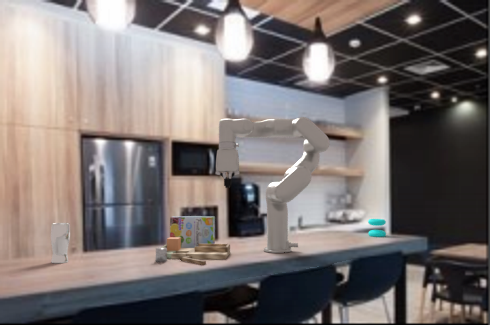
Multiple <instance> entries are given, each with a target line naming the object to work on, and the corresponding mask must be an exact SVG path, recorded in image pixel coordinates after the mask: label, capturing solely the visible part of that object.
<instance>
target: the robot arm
mask: <svg viewBox="0 0 490 325" xmlns="http://www.w3.org/2000/svg"><path fill="white" fill-rule="evenodd" d="M236 137H237V138H241V139H242V138H243V139H244V138H247V139H248V138H249V139H250V138H251V139H255V138H258V139H259V138H300V137H303V139H304V141H303V146H302V147H303V155H302V156H301V158H300V159H298V160H297V162H296V163H294V164H293V165H292V166H291V167H290V168H288V169H287V170H286V171H285V172H284V175H283V179H282V180H281V181H273V182H270V183H269V184H268V185H267V186H266V189H265V200H266V247H263V252H266V253H273V254H280V253H282V254H284V252H285V253H290V252H292V248H299V243H298V242H290V241H289V233H288V232H289V231H288V230H289V229H288V228H289V223H288V222H289V221H288V219H289V217H288V216H289V215H288V213H289V212H288V203H289V202H291V201H292V200H294V199H295V198H296V197H297V196H298V195H300V194H301V192H303V191H304V190H305V189H306V188H307V187H308V186H309V185H310V183H311V181H312V174H313V172H314V171H315V170H316V169H317V168H318V166H319V164H320V159H321V158H320V156H321V155H320V153H323V152H326V151H327V150H328V149H329V148H330V145H331V144H330V142H331V141H330V139H329V137H328V136H327V134H326V133H325V132H324V131H323V130H321V129H320V128H319V127H318V125H316V124H315V123H314V122H313V121H312V120H311V119H309V118H307V117H305V116H301V117H298V118H270V119H265V120H262V121H252V120H251V119H248V118H238V119H232V118H222V119H220V120H219V122H218V149H217V151H216V160H215V175H217V176H221V178H223V186H224V187H225V189H228V188H230V187H232V178H234V176H237V175H240V159H239V151H238V149H237V148H239V147H240V144H239V143H236V142H237V140H236ZM227 173H228V177H227Z"/></svg>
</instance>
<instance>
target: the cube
mask: <svg viewBox="0 0 490 325" xmlns="http://www.w3.org/2000/svg"><path fill="white" fill-rule="evenodd" d="M166 244H167V250H171V251H178V250H180V249H181V237H170V236H169V237H168V238H166Z"/></svg>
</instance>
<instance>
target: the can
mask: <svg viewBox="0 0 490 325" xmlns="http://www.w3.org/2000/svg"><path fill="white" fill-rule="evenodd" d="M167 262H168V259H167V248H160V247H156V248H155V263H167Z"/></svg>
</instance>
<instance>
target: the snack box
mask: <svg viewBox="0 0 490 325" xmlns="http://www.w3.org/2000/svg"><path fill="white" fill-rule="evenodd" d="M215 219H216V217H215V216H211V215H210V216H203V215H202V216H201V215H197V216H196V215H191V216H190V215H188V216H186V215H185V216H179V215H178V216H170V220H169V221H170V222H169V225H170V226H169V229H170V230H169V237H181V248H195V247H199V244H216V242H215V240H216V232H215V230H216V222H215V221H216V220H215Z"/></svg>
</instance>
